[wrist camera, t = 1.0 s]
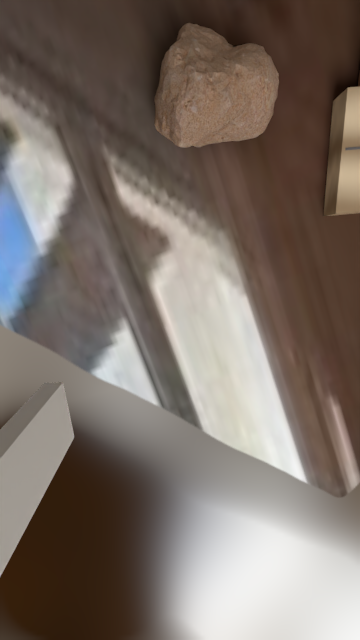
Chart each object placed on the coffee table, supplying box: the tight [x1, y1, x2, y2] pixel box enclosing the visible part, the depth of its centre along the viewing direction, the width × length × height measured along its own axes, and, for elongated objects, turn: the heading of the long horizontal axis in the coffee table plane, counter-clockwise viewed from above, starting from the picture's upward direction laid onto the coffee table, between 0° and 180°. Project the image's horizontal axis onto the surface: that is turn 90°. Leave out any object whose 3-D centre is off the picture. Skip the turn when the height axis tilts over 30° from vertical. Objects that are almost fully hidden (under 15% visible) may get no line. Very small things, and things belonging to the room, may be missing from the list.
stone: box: [154, 23, 279, 147], centre depth 25 cm, size 12×9×10 cm
